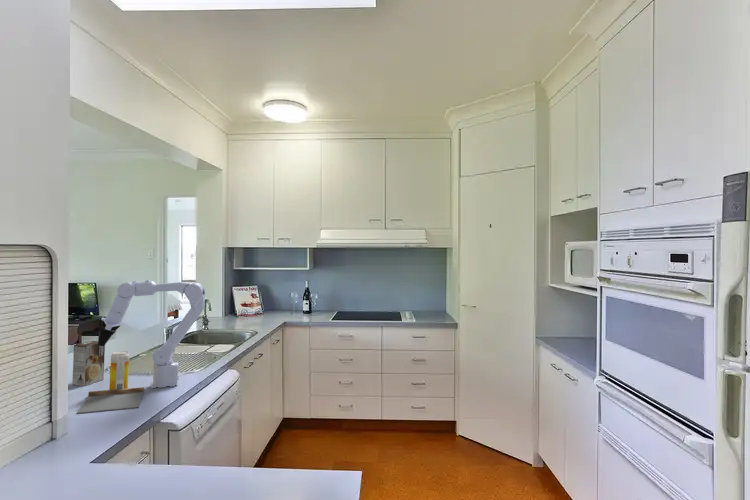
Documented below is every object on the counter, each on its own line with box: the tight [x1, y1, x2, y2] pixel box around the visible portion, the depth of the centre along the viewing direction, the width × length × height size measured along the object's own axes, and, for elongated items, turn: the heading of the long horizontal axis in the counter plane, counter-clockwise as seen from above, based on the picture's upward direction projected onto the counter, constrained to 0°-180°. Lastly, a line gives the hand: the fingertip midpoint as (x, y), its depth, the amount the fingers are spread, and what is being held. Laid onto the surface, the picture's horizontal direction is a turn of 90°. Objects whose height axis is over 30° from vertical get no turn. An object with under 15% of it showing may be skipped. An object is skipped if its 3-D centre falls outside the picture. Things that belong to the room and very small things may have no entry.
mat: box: [76, 391, 145, 415], centre depth 149 cm, size 18×17×1 cm
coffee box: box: [71, 340, 106, 387], centre depth 170 cm, size 9×6×16 cm
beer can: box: [108, 350, 130, 390], centre depth 161 cm, size 6×6×15 cm
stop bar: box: [87, 386, 145, 397], centre depth 157 cm, size 18×1×2 cm, turn 114°
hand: (102, 342), depth 165 cm, fingers open, 7 cm apart
